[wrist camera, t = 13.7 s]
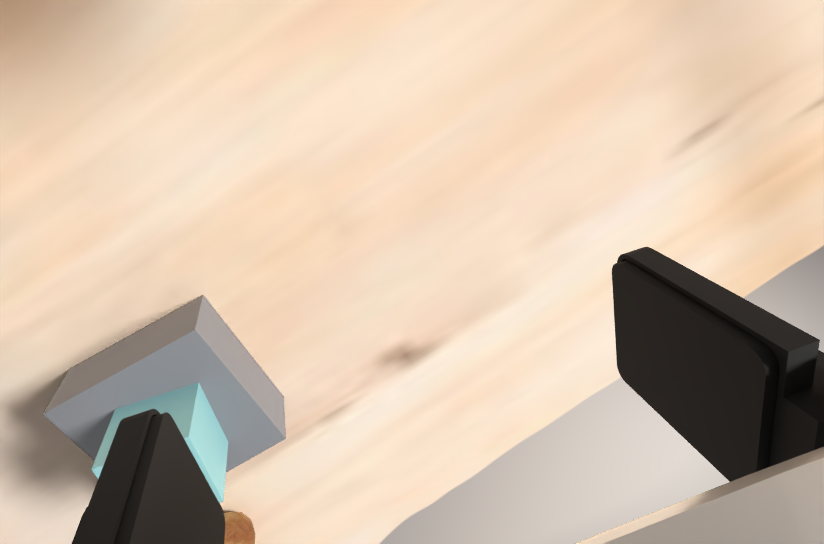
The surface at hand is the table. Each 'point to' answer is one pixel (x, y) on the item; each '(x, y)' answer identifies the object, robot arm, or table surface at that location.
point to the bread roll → (238, 529)
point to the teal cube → (182, 431)
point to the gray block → (174, 382)
